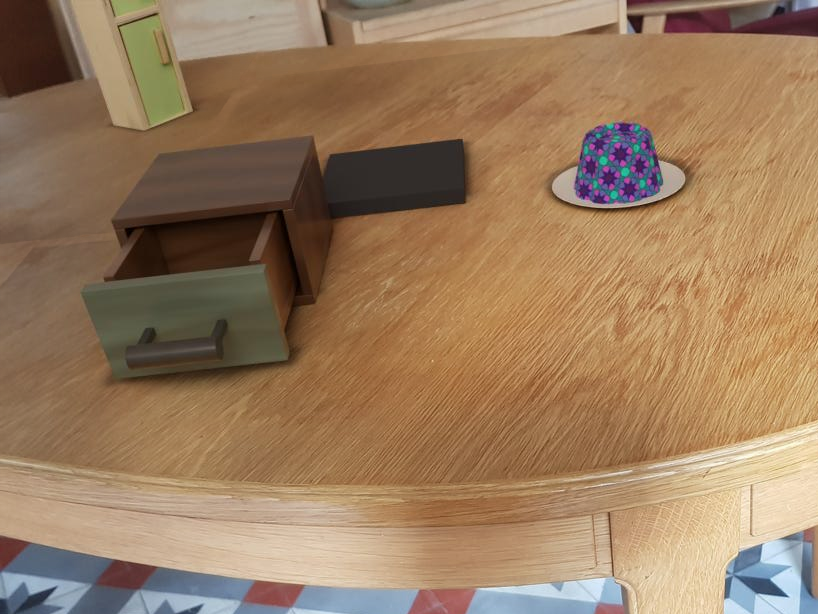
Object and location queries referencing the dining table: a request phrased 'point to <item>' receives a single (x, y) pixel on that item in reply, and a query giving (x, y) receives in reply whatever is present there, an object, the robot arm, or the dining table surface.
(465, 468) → the dining table surface
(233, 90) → the dining table surface
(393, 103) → the dining table surface
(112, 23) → the toy refrigerator
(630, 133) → the pudding
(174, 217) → the cabinet
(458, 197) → the black rectangular block
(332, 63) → the dining table surface
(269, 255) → the drawer
